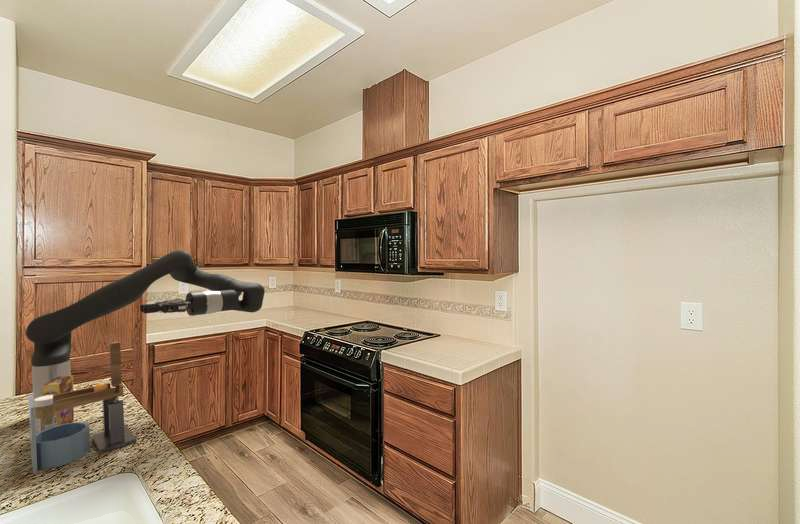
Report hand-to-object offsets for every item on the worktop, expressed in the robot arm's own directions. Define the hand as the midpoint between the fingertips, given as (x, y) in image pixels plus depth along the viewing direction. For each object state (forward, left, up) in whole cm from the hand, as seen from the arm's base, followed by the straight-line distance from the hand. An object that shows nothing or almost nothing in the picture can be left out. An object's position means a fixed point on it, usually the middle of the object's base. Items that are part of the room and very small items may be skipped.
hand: (142, 309), depth 110 cm
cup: (-5, -18, -36) cm, 41 cm away
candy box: (-24, -11, -36) cm, 45 cm away
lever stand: (-2, -8, -36) cm, 37 cm away
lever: (-3, -12, -24) cm, 28 cm away
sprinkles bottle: (-16, -17, -36) cm, 43 cm away
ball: (-3, -10, -20) cm, 23 cm away
